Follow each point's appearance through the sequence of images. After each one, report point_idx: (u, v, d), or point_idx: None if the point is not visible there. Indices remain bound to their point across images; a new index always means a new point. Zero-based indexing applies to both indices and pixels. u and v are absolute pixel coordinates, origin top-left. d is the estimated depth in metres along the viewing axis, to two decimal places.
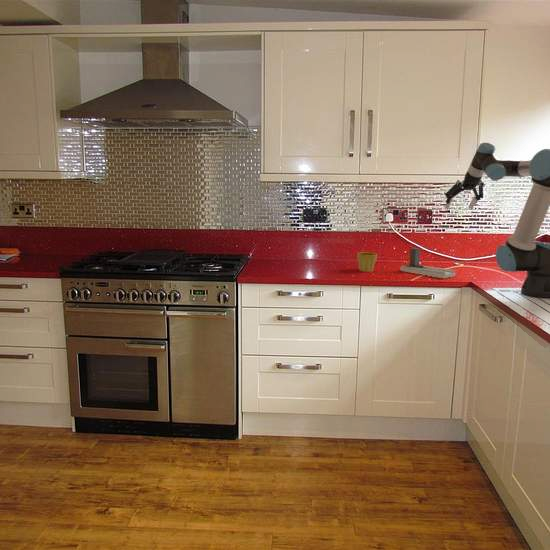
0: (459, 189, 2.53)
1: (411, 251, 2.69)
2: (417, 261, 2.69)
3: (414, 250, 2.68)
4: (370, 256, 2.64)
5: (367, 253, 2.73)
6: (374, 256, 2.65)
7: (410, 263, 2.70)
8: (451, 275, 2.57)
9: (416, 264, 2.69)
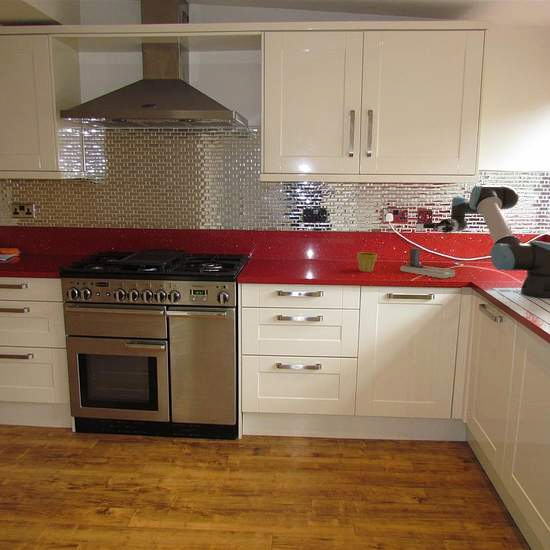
0: None
1: (411, 251, 2.69)
2: (417, 261, 2.69)
3: (414, 250, 2.68)
4: (370, 256, 2.64)
5: (367, 253, 2.73)
6: (374, 256, 2.65)
7: (410, 263, 2.70)
8: (451, 275, 2.57)
9: (416, 264, 2.69)
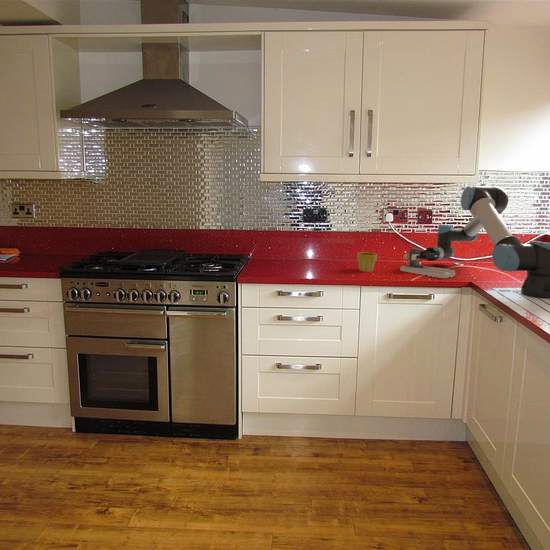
0: None
1: (411, 251, 2.69)
2: (417, 261, 2.69)
3: (414, 250, 2.68)
4: (370, 256, 2.64)
5: (367, 253, 2.73)
6: (374, 256, 2.65)
7: (410, 263, 2.70)
8: (451, 275, 2.57)
9: (416, 264, 2.69)
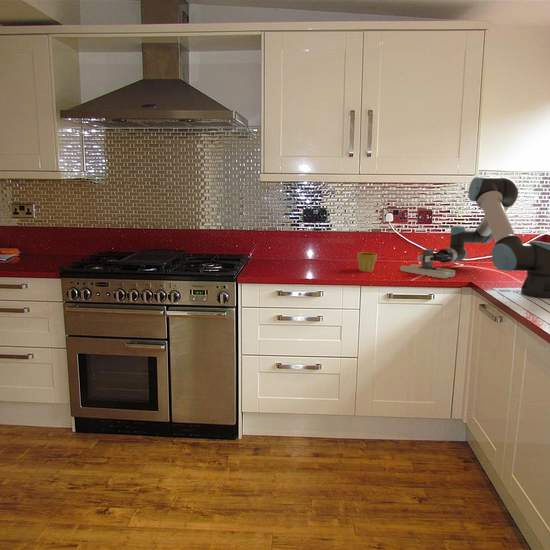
0: None
1: (424, 253, 2.63)
2: (430, 263, 2.64)
3: (427, 252, 2.62)
4: (370, 256, 2.64)
5: (367, 253, 2.73)
6: (374, 256, 2.65)
7: (423, 265, 2.64)
8: (451, 275, 2.57)
9: (429, 266, 2.63)
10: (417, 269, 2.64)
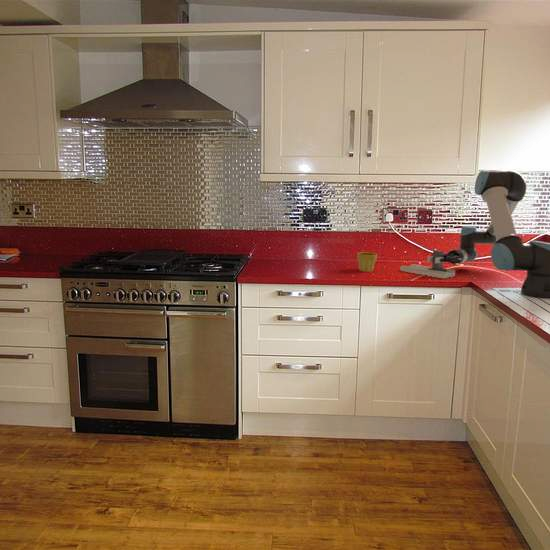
0: None
1: (434, 254, 2.59)
2: (440, 264, 2.59)
3: (437, 253, 2.57)
4: (370, 256, 2.64)
5: (367, 253, 2.73)
6: (374, 256, 2.65)
7: (433, 266, 2.60)
8: (451, 275, 2.57)
9: (439, 267, 2.59)
10: (417, 269, 2.64)
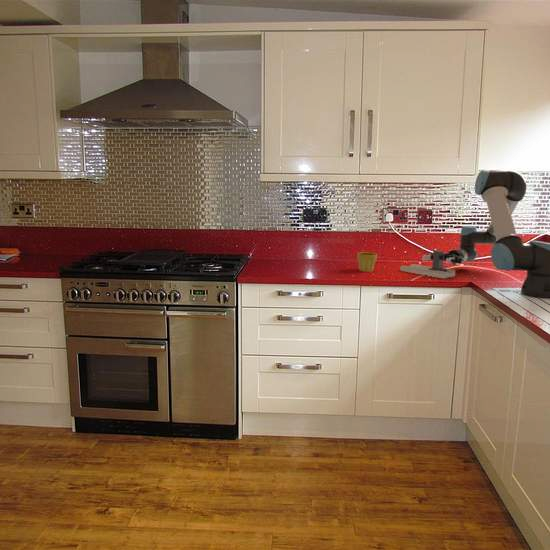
0: None
1: (434, 254, 2.59)
2: (441, 264, 2.59)
3: (438, 253, 2.57)
4: (370, 256, 2.64)
5: (367, 253, 2.73)
6: (374, 256, 2.65)
7: (433, 266, 2.60)
8: (451, 275, 2.57)
9: (440, 267, 2.59)
10: (417, 269, 2.64)
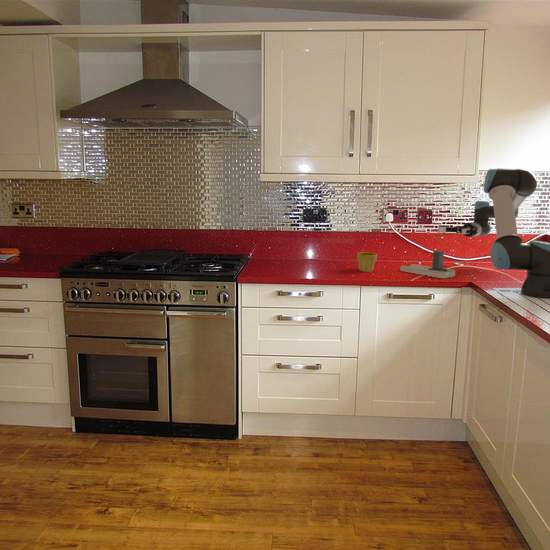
0: None
1: (434, 254, 2.59)
2: (441, 264, 2.59)
3: (438, 253, 2.57)
4: (370, 256, 2.64)
5: (367, 253, 2.73)
6: (374, 256, 2.65)
7: (433, 266, 2.60)
8: (451, 275, 2.57)
9: (440, 267, 2.59)
10: (417, 269, 2.64)
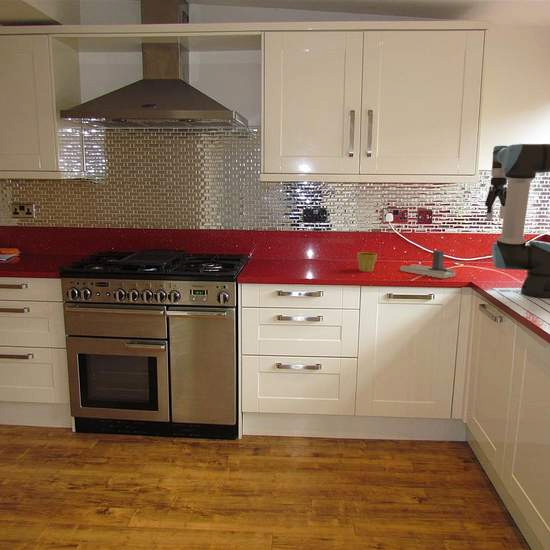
0: None
1: (434, 254, 2.59)
2: (441, 264, 2.59)
3: (438, 253, 2.57)
4: (370, 256, 2.64)
5: (367, 253, 2.73)
6: (374, 256, 2.65)
7: (433, 266, 2.60)
8: (451, 275, 2.57)
9: (440, 267, 2.59)
10: (417, 269, 2.64)
